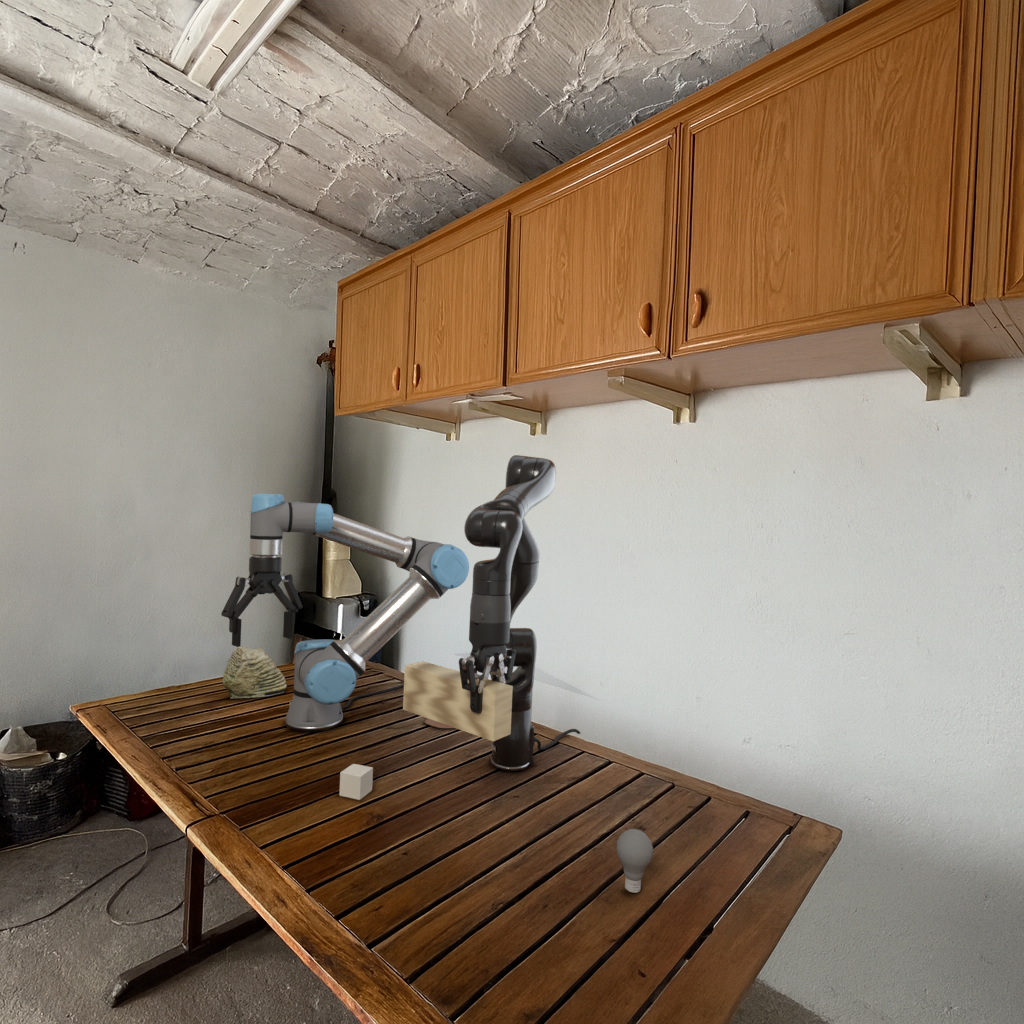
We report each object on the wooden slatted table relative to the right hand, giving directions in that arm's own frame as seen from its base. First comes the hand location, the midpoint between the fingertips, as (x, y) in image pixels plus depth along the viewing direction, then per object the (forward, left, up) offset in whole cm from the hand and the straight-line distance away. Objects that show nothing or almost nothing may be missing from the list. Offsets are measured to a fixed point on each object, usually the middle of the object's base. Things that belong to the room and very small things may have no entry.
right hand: (486, 708), depth 118 cm
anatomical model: (-18, -62, -26) cm, 69 cm away
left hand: (+33, -61, +1) cm, 69 cm away
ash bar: (+3, -7, -4) cm, 9 cm away
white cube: (+16, -29, -26) cm, 42 cm away
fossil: (+30, -106, -26) cm, 113 cm away
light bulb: (-17, +23, -26) cm, 39 cm away
